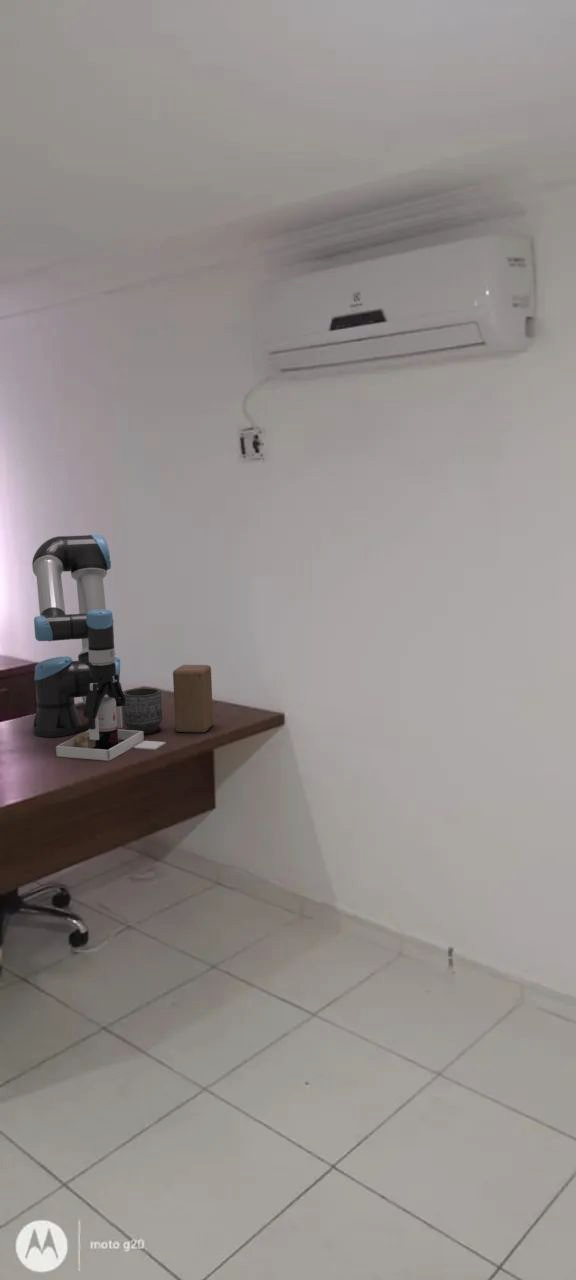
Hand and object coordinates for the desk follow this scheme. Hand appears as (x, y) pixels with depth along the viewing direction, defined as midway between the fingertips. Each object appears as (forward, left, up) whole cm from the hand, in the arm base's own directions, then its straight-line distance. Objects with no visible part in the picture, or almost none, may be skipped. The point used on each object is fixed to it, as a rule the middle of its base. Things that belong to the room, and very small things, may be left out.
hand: (106, 733), depth 274 cm
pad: (+11, +6, -5) cm, 13 cm away
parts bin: (-2, 0, -5) cm, 5 cm away
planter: (+1, +21, -5) cm, 22 cm away
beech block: (-7, 0, -5) cm, 9 cm away
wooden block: (+16, +27, -5) cm, 32 cm away
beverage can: (0, 0, -5) cm, 5 cm away
